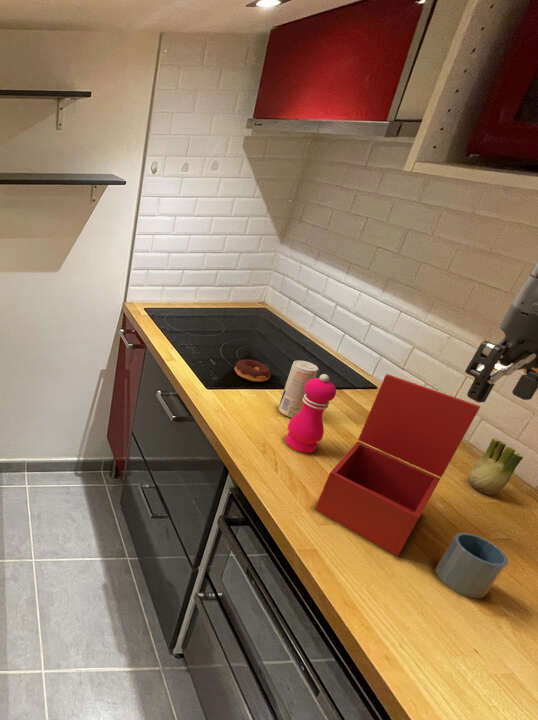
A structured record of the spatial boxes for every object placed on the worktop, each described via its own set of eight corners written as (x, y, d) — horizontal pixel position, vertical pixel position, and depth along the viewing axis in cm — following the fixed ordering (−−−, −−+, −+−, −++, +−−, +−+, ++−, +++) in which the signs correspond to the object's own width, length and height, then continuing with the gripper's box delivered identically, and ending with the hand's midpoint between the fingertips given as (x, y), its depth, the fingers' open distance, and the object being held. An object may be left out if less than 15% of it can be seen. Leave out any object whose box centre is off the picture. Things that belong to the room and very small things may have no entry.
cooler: (397, 556, 81) (418, 517, 77) (314, 509, 91) (330, 472, 87) (420, 515, 90) (440, 478, 86) (342, 475, 100) (357, 441, 96)
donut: (238, 364, 145) (240, 353, 143) (271, 374, 139) (275, 363, 138) (229, 376, 138) (232, 365, 136) (265, 388, 132) (268, 376, 131)
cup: (475, 573, 78) (496, 541, 75) (492, 604, 73) (516, 572, 70) (430, 558, 81) (449, 527, 78) (443, 588, 76) (464, 556, 72)
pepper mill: (276, 438, 111) (299, 369, 103) (298, 432, 113) (322, 364, 105) (301, 457, 105) (328, 385, 97) (324, 451, 107) (352, 380, 99)
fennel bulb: (500, 501, 93) (529, 457, 88) (469, 493, 96) (496, 449, 91) (489, 483, 98) (516, 440, 93) (460, 475, 100) (485, 433, 95)
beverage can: (306, 418, 119) (324, 370, 113) (286, 419, 118) (303, 370, 112) (292, 406, 124) (308, 359, 118) (273, 407, 123) (288, 359, 117)
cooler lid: (479, 407, 78) (485, 397, 81) (385, 374, 88) (393, 366, 91) (441, 477, 85) (447, 465, 88) (357, 440, 95) (366, 430, 98)
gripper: (558, 298, 71) (509, 384, 78) (480, 300, 70) (436, 387, 76) (622, 317, 64) (562, 409, 71) (537, 320, 63) (484, 414, 70)
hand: (497, 398), depth 74 cm, fingers open, 8 cm apart
